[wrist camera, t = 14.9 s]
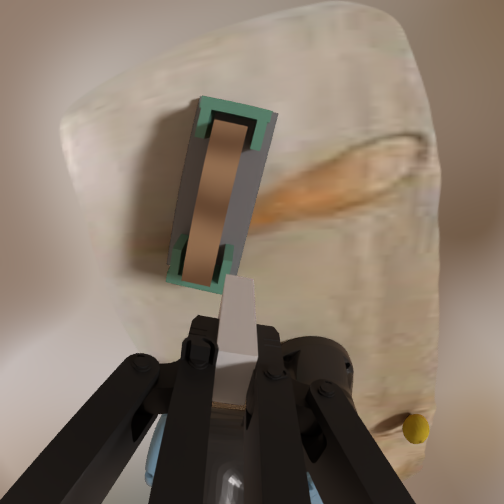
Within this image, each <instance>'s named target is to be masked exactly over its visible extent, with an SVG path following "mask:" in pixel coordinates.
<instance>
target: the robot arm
mask: <svg viewBox="0 0 504 504" xmlns="http://www.w3.org/2000/svg"><path fill="white" fill-rule="evenodd" d="M353 373H354V372H353V365H352V362H351V360H350V357H349V355H348V353H347V351H346V350H345V349H344V347H343V346H341V345H340V344H339V343H337V342H335V341H333V340H331V339H328V338H323V337H302V338H297V339H293V340H290V341H288V342H285V343H283V344H281V343H280V337H279V333H278V332H277V330H276V329H275V328H274V327H272V326H265V325H259V324H256V309H255V292H254V279H252V278H246V277H240V276H235V275H229V274H226V277H225V283H224V288H223V293H222V299H221V304H220V310H219V316H218V319H217V318H212V317H206V316H200V315H198V316H197V317H195V318H194V319H193V320H192V323H191V327H190V331H189V335H188V337H187V338H185V339H184V341H183V342H182V350H181V358H180V359H179V360H178V361H176V362H173V363H166V364H159V362H158V361H157V360H156V358H154V357H152V356H151V355H148V354H144V353H136V354H133V355H130V356H129V357H127V358H126V359H125V360H124V361H123V362H122V363H121V364H120V365H119V366H118V368H117V369H116V370H115V371H114V372H113V373H112V374H111V375H110V376H109V377H108V379H107V380H106V381H105V382H104V383H103V384H102V385H101V386H100V387H99V388H98V390H97V391H96V392H95V393H94V394H93V395H92V396H91V397H90V398H89V399H88V401H87V402H86V403H85V404H84V405H83V406H82V407H81V408H80V409H79V411H78V412H77V413H76V414H75V415H74V416H73V417H72V418H71V419H70V421H69V422H68V423H67V424H66V425H65V426H64V427H63V429H62V430H61V431H60V432H59V433H58V434H57V435H56V436H55V438H54V439H53V440H52V441H51V442H50V443H49V444H48V446H47V447H46V448H45V449H44V450H43V451H42V452H41V453H40V455H39V456H38V457H37V458H36V459H35V460H34V461H33V463H32V464H31V465H30V466H29V467H28V468H27V470H26V471H25V472H24V473H23V474H22V475H21V476H20V478H19V479H18V480H17V481H16V482H15V483H14V485H13V486H12V487H11V488H10V489H9V490H8V492H7V493H6V494H5V495H4V496H3V498H2V499H1V500H0V504H101V503H102V502H103V500H104V499H105V497H106V496H107V494H108V492H109V491H110V489H111V488H112V486H113V485H114V483H115V482H116V480H117V479H118V477H119V476H120V474H121V472H122V471H123V469H124V467H125V466H126V465H127V463H128V462H129V460H130V458H131V457H132V455H133V454H134V452H135V451H136V449H137V447H138V446H139V444H140V443H141V441H142V440H143V438H144V436H145V435H146V434H147V432H148V430H149V429H150V427H151V426H152V424H153V423H154V421H155V419H156V418H157V416H158V414H162V415H161V417H160V419H159V421H158V423H157V426H156V428H155V431H154V434H153V437H152V440H151V443H150V447H149V451H148V455H147V460H146V467H145V470H146V473H145V482H146V484H147V485H148V486H151V487H152V488H151V493H150V498H149V503H148V504H416V503H415V502H414V500H413V499H412V498H411V496H410V494H409V493H408V491H407V489H406V488H405V486H404V485H403V483H402V482H401V480H400V479H399V477H398V476H397V474H396V472H395V471H394V469H393V468H392V466H391V465H390V463H389V462H388V460H387V459H386V457H385V456H384V454H383V453H382V451H381V449H380V448H379V446H378V445H377V443H376V442H375V440H374V439H373V437H372V436H371V434H370V433H369V431H368V430H367V428H366V426H365V425H364V423H363V422H362V420H361V419H360V417H359V416H358V414H357V411H356V408H355V405H354V402H353V399H352V387H353ZM212 401H214V402H220V403H227V404H235V405H243V406H244V405H245V401H246V409H245V410H237V409H226V408H216V407H212Z"/></svg>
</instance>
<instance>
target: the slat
mask: <svg viewBox="0 0 504 504" xmlns="http://www.w3.org/2000/svg"><path fill="white" fill-rule="evenodd" d="M247 128H248V127H247V126H243V125H238V124H234V123H229V122H225V121H220V120H215V119H214V123H213V127H212V132H211V136H210V140H209V144H208V149H207V153H206V157H205V162H204V166H203V171H202V175H201V180H200V185H199V189H198V194H197V199H196V204H195V209H194V214H193V219H192V224H191V229H190V234H189V240H188V245H187V251H186V256H185V262H184V268H183V273H182V279H181V281H185V282H190V283H194V284H199V285H203V286H208V287H210V285H211V281H212V276H213V272H214V267H215V262H216V258H217V253H218V249H219V244H220V240H221V236H222V231H223V227H224V222H225V218H226V214H227V210H228V205H229V201H230V197H231V193H232V188H233V184H234V180H235V176H236V172H237V168H238V164H239V160H240V156H241V152H242V148H243V144H244V140H245V136H246V132H247Z"/></svg>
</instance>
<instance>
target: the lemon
mask: <svg viewBox="0 0 504 504" xmlns="http://www.w3.org/2000/svg"><path fill="white" fill-rule="evenodd" d="M402 429H403V434H404V436H405V438H406V439H407V440H408V441H409V442H410V443H413V444H419V443H423V442H424V441H425V440H426V438H427V437H428V435H429V425H428V422H427V420H426V419H425V418H424V417H423V416H422V415H420V414H413V415H409V416H408V417H407V418H406V420H405V421H404V423H403V428H402Z"/></svg>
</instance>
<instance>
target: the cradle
mask: <svg viewBox="0 0 504 504" xmlns="http://www.w3.org/2000/svg"><path fill="white" fill-rule="evenodd" d="M277 117H278V113H274V112H273V111H270V110H266V109H262V108H258V107H254V106H250V105H245V104H241V103H236V102H232V101H227V100H222V99H217V98H212V97H207V96H200V99H199V103H198V107H197V111H196V115H195V119H194V123H193V128H192V132H191V136H190V141H189V145H188V150H187V155H186V159H185V164H184V169H183V174H182V179H181V184H180V189H179V194H178V200H177V205H176V210H175V216H174V222H173V228H172V234H171V240H170V246H169V253H168V259H167V265H170V268H169V270H168V272H167V277H166V282H168V283H172V284H177V285H181V286H185V287H190V288H194V289H199V290H203V291H208V292H212V293H217V294H222V293H223V288H224V283H225V277H226V274H229V275H235V276H237V272H238V268H239V264H240V260H241V256H242V252H243V248H244V244H245V241H246V237H247V233H248V229H249V225H250V221H251V217H252V213H253V209H254V205H255V201H256V198H257V194H258V190H259V186H260V182H261V178H262V174H263V170H264V167H265V163H266V159H267V155H268V151H269V147H270V144H271V140H272V136H273V132H274V128H275V124H276V121H277ZM214 119H215V120H220V121H225V122H229V123H234V124H238V125H243V126H247V127H248V128H247V132H246V136H245V140H244V144H243V148H242V152H241V156H240V160H239V164H238V168H237V172H236V176H235V180H234V184H233V188H232V193H231V197H230V201H229V205H228V210H227V214H226V218H225V222H224V227H223V231H222V236H221V240H220V244H219V249H218V253H217V258H216V262H215V267H214V272H213V276H212V281H211V285H210V287H208V286H203V285H199V284H194V283H190V282H185V281H181V279H182V273H183V268H184V262H185V256H186V251H187V245H188V240H189V234H190V229H191V224H192V219H193V214H194V209H195V204H196V199H197V194H198V189H199V185H200V180H201V175H202V171H203V166H204V162H205V157H206V153H207V149H208V144H209V140H210V136H211V132H212V127H213V123H214Z"/></svg>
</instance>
